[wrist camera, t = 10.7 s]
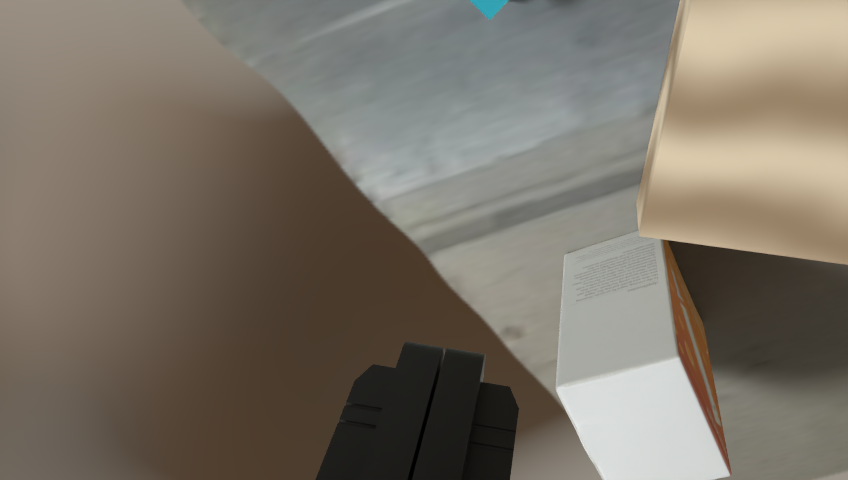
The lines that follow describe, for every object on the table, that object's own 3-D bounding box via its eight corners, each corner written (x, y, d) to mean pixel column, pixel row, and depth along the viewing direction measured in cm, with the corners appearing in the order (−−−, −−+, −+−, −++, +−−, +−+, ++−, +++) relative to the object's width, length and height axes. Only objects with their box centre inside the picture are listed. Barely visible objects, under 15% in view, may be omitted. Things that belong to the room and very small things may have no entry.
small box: (705, 323, 51) (735, 479, 40) (608, 349, 53) (611, 503, 42) (662, 218, 47) (681, 356, 36) (561, 251, 50) (550, 390, 39)
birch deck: (703, -110, 38) (714, -98, 35) (972, -89, 37) (1010, -73, 33) (636, 202, 47) (639, 236, 44) (850, 230, 46) (870, 267, 42)
